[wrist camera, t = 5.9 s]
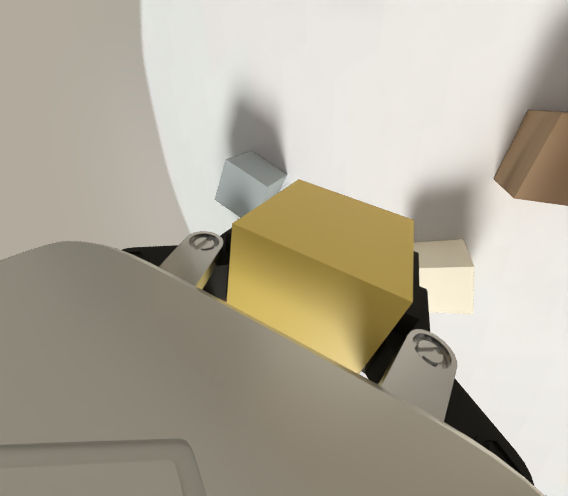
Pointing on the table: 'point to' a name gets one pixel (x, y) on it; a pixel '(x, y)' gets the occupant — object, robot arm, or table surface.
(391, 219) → the mustard cube
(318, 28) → the table surface
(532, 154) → the walnut cube
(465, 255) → the cream cube
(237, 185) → the slate cube
